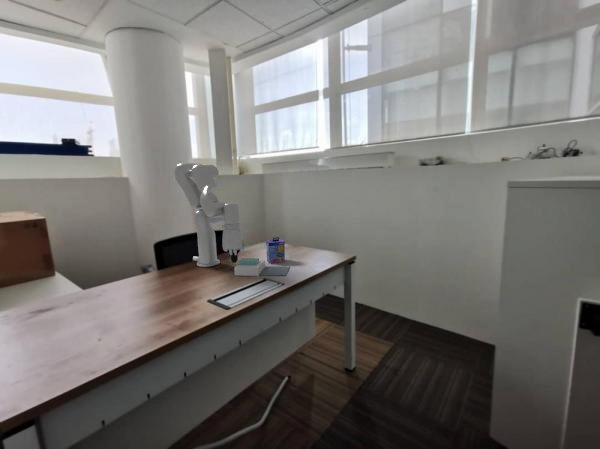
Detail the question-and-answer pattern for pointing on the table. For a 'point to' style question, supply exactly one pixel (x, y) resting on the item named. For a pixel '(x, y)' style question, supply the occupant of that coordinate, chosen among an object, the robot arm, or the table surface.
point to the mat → (274, 271)
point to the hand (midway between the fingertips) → (234, 261)
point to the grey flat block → (250, 269)
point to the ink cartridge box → (275, 250)
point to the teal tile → (249, 261)
